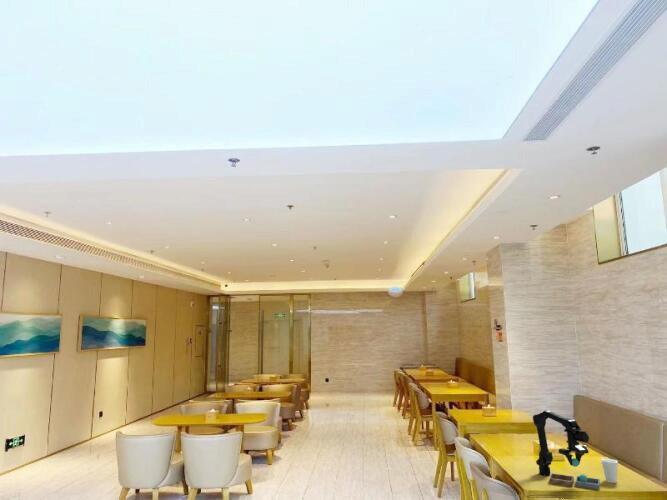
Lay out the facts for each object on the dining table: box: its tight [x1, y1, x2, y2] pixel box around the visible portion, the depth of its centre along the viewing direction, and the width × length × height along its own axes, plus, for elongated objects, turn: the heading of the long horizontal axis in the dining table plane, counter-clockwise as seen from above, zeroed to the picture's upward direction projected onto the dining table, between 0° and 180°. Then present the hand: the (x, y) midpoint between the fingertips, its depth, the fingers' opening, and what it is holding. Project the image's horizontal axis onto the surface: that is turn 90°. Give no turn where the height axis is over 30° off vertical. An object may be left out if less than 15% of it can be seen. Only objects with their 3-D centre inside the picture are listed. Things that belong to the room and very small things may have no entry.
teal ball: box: [571, 457, 580, 468], centre depth 302 cm, size 5×5×5 cm
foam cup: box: [600, 458, 619, 484], centre depth 308 cm, size 10×9×13 cm
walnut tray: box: [549, 473, 575, 488], centre depth 305 cm, size 13×13×3 cm
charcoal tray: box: [574, 475, 601, 491], centre depth 299 cm, size 13×13×3 cm
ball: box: [578, 473, 589, 483], centre depth 303 cm, size 5×5×5 cm
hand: (574, 465), depth 302 cm, fingers closed on teal ball, 5 cm apart
